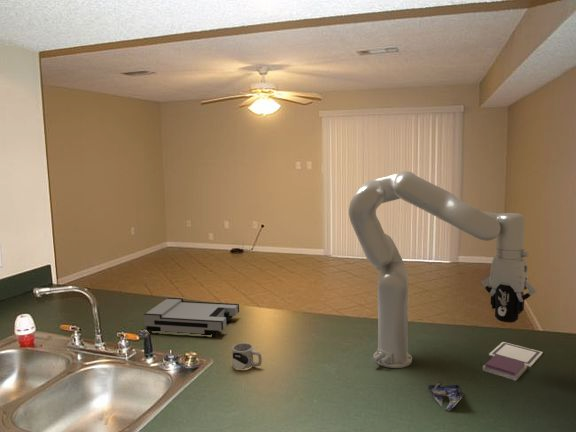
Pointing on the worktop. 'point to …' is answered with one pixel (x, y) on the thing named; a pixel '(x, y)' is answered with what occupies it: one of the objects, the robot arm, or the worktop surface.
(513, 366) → the ink pad
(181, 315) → the game console
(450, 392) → the snack package
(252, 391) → the worktop surface
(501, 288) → the beverage can
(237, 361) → the mug
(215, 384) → the worktop surface
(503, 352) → the marked card
